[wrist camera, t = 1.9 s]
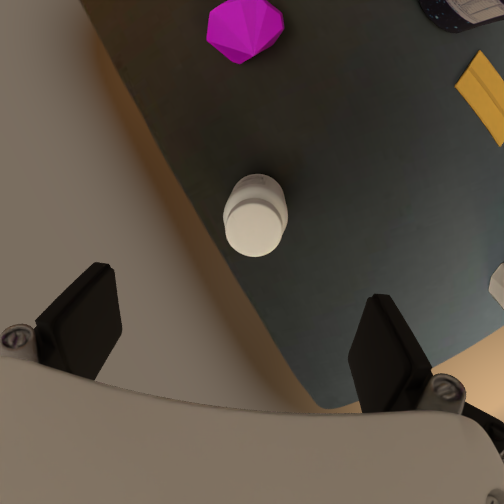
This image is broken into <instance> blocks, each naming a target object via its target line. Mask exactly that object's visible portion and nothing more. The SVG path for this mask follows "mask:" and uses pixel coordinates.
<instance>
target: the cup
mask: <svg viewBox="0 0 504 504" xmlns="http://www.w3.org/2000/svg"><path fill="white" fill-rule="evenodd" d="M488 291H489V293H490V294H491V295H492V297H493V298H494V299H495V300H496V301H497V302H498V304H499V305H500V306H501V307H502V309H503V310H504V263H501V264H500V266H499V267H498V268H497V270H496V271H495V272H494V273H493V275H492V276H491V280H490V285H489V289H488Z"/></svg>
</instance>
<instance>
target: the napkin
mask: <svg viewBox="0 0 504 504" xmlns="http://www.w3.org/2000/svg"><path fill="white" fill-rule="evenodd" d="M454 87H455V88H456V89H457V90H458V91H459V93H460V94H461V95H462V96H463V97H464V99H465V100H466V101H467V102H468V104H469V105H470V106H471V108H472V109H473V110H474V111H475V113H476V114H477V115H478V117H479V118H480V120H481V121H482V122H483V124H484V125H485V127H486V128H487V129H488V131H489V132H490V134H491V135H492V137H493V138H494V140H495V141H496V143H497V144H498V146H499V147H501V145H502V144H503V142H504V81H503V80H502V78H501V77H500V76H499V74H498V73H497V71H496V70H495V69H494V67H493V66H492V65H491V63H490V62H489V61H488V59H487V58H486V57H485V56H484V54H483V53H482V52H481V51H480V50H478V52H477V53H476V55H475V56H474V58H473V59H472V61H471V62H470V64H469V65H468V67H467V68H466V70H465V71H464V73H463V74H462V76H461V77H460V79H459V80H458V82H457V83H456V84H455V86H454Z"/></svg>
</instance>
